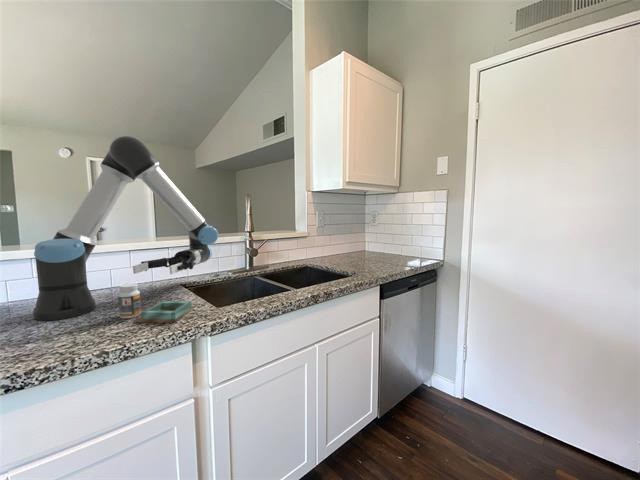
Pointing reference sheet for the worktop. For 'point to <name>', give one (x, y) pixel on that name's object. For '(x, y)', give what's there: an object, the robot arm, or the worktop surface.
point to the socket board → (165, 312)
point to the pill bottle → (129, 301)
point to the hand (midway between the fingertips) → (152, 270)
